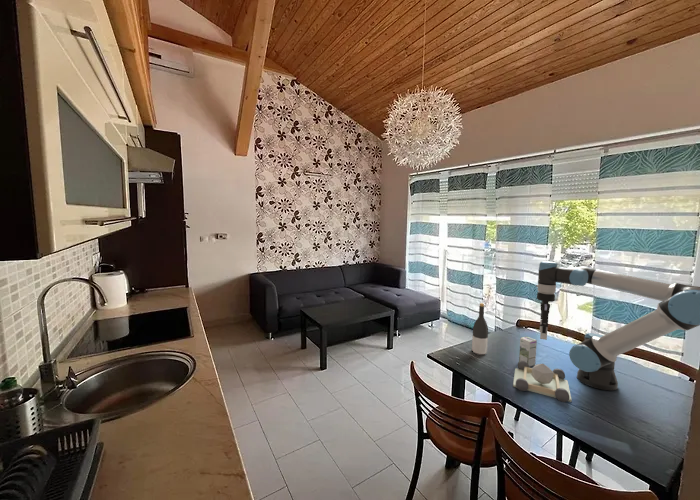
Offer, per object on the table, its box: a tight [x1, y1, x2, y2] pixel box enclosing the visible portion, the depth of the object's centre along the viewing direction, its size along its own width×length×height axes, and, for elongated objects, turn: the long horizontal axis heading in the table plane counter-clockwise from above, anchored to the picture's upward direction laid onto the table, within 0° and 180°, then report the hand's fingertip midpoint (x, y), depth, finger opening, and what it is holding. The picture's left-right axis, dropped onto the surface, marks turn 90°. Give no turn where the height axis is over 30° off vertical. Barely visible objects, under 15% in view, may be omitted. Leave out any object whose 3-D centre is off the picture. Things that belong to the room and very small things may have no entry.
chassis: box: [512, 361, 573, 403], centre depth 141 cm, size 22×23×5 cm
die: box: [531, 363, 554, 384], centre depth 139 cm, size 8×9×10 cm
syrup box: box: [518, 336, 538, 367], centre depth 161 cm, size 6×6×14 cm
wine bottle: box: [471, 302, 489, 356], centre depth 172 cm, size 8×8×30 cm
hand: (543, 335), depth 150 cm, fingers open, 10 cm apart
